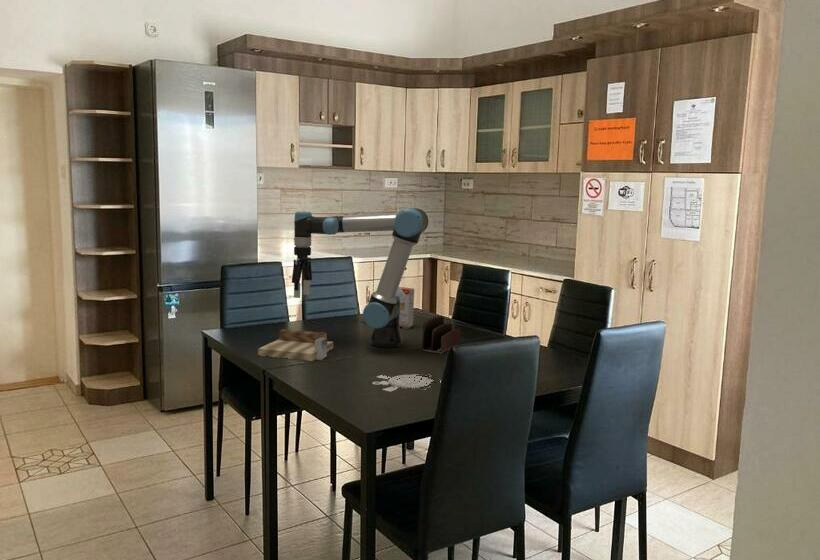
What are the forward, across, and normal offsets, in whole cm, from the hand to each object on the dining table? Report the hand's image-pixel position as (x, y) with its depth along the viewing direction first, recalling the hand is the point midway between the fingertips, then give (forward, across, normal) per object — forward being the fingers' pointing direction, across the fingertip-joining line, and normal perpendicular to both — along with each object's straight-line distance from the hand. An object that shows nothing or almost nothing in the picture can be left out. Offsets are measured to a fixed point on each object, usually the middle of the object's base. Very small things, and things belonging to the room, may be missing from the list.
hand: (301, 296), depth 300 cm
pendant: (+23, +43, +62) cm, 79 cm away
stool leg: (+19, +8, +5) cm, 21 cm away
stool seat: (+22, +16, +5) cm, 27 cm away
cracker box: (+22, -54, +31) cm, 66 cm away
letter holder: (+22, -15, +62) cm, 67 cm away
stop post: (+22, +22, +18) cm, 36 cm away
